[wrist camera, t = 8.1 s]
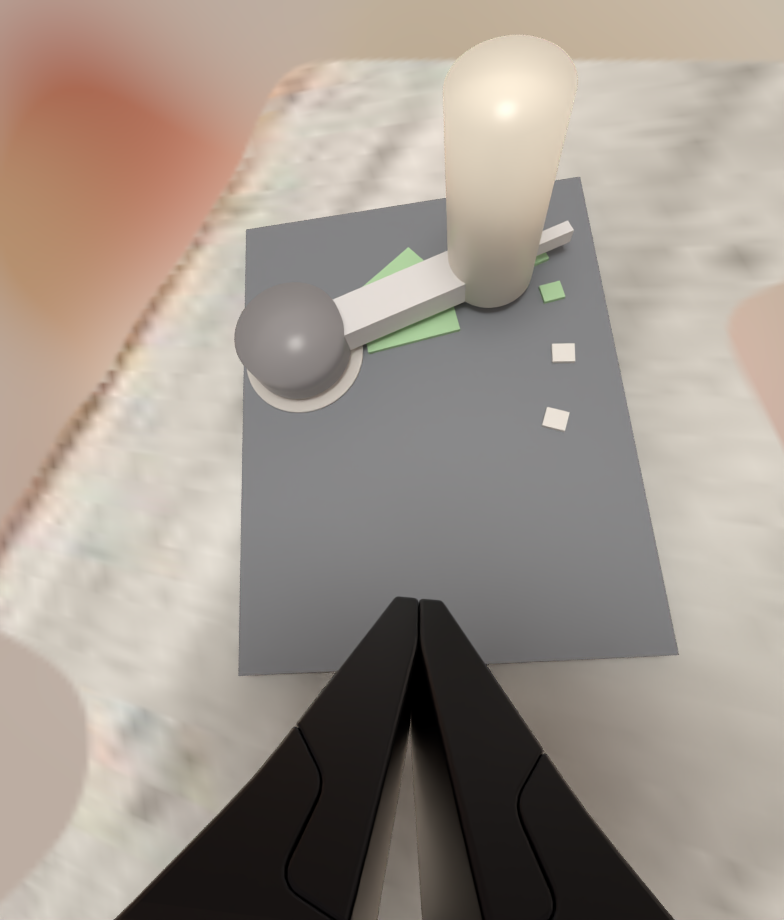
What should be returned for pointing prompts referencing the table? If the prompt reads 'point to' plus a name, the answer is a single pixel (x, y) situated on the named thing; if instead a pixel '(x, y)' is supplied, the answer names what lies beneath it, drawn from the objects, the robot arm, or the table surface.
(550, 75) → the needle lever
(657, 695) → the table surface
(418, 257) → the board
